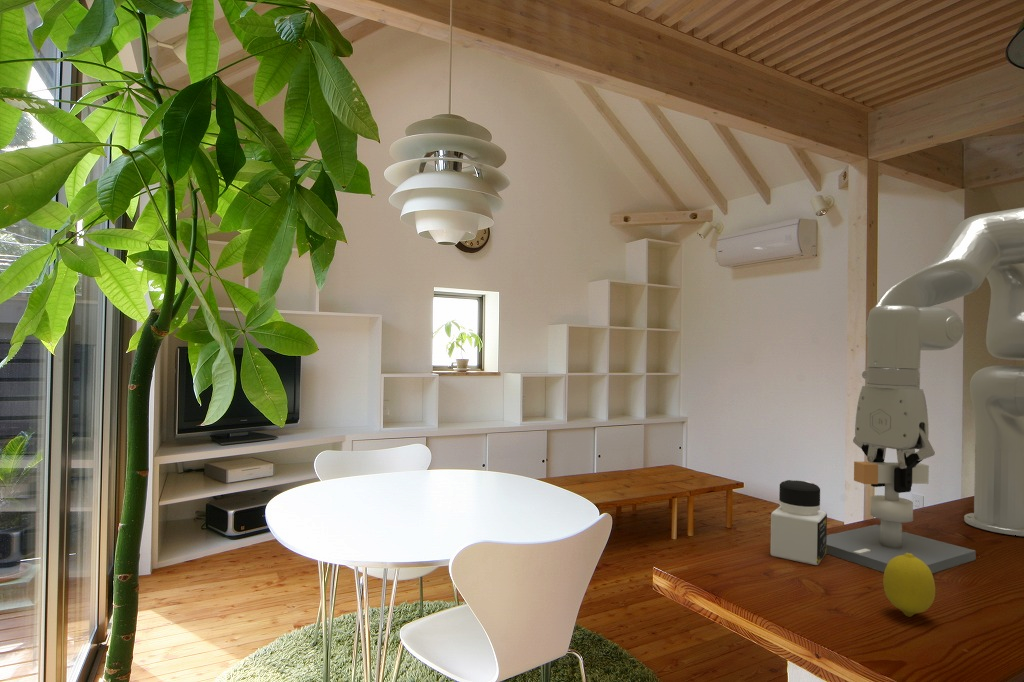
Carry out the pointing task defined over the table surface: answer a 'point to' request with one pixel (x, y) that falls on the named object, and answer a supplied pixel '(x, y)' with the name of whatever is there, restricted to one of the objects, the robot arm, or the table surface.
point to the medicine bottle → (799, 523)
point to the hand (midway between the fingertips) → (890, 487)
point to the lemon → (909, 584)
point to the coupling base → (894, 547)
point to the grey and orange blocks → (889, 489)
